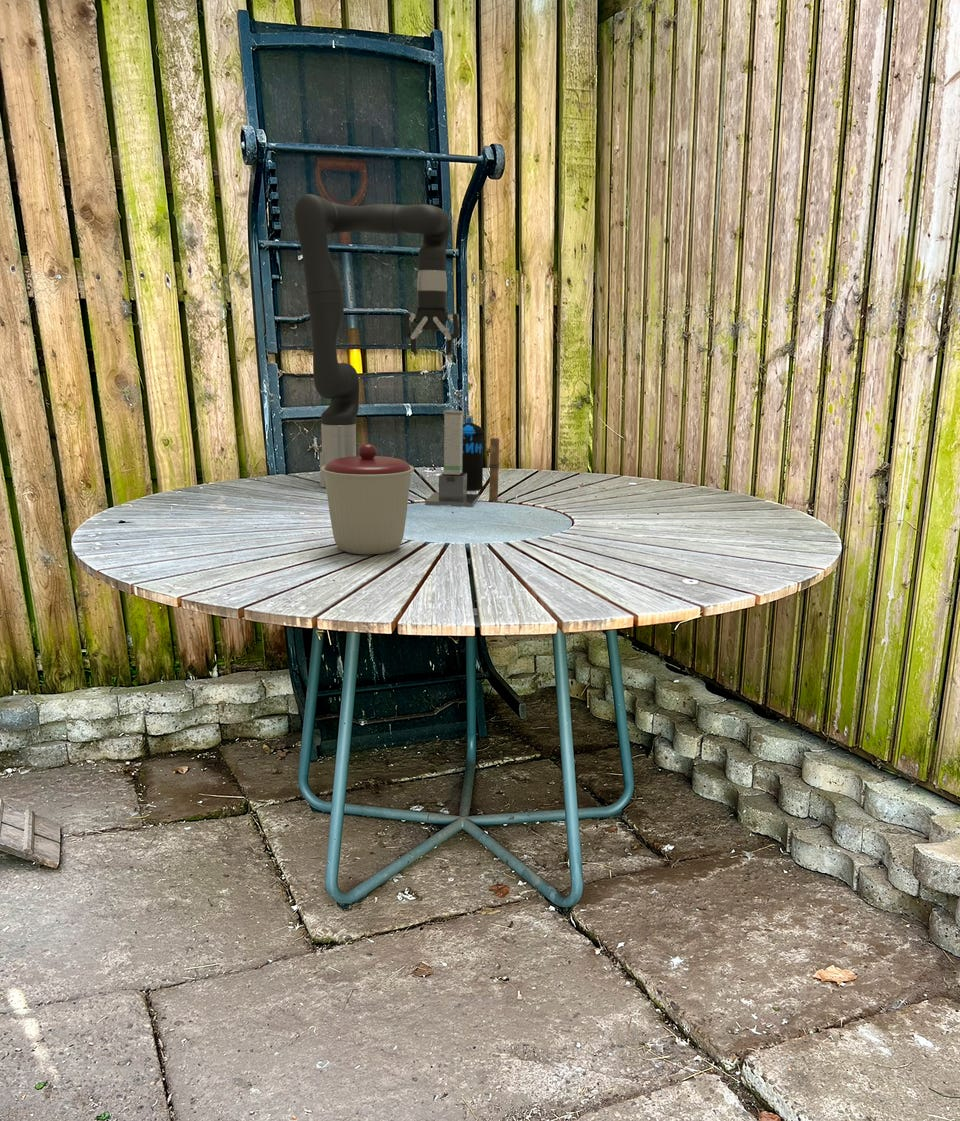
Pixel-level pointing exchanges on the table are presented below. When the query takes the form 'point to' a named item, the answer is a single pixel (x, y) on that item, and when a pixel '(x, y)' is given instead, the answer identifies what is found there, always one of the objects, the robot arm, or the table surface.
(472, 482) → the aerosol can
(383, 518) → the canister
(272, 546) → the table surface
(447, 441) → the grey-green long block
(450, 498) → the stand base
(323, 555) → the table surface
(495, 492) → the banded wooden rod
